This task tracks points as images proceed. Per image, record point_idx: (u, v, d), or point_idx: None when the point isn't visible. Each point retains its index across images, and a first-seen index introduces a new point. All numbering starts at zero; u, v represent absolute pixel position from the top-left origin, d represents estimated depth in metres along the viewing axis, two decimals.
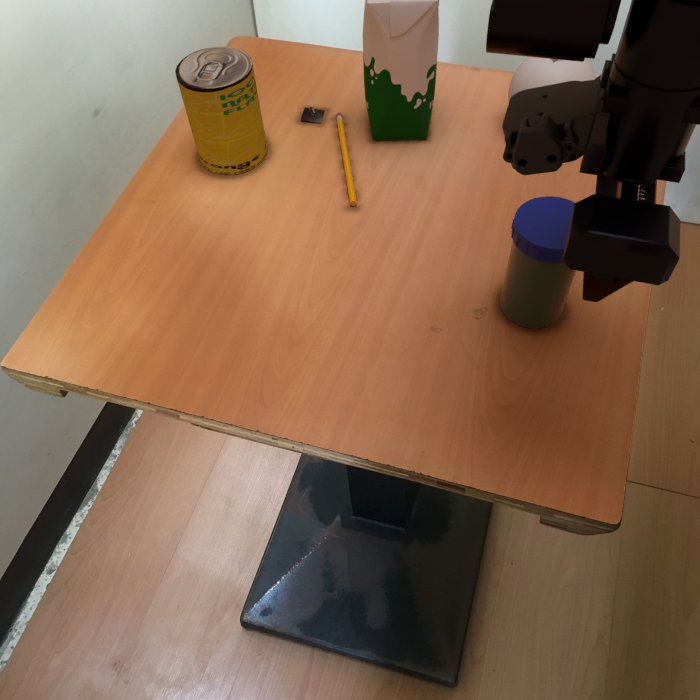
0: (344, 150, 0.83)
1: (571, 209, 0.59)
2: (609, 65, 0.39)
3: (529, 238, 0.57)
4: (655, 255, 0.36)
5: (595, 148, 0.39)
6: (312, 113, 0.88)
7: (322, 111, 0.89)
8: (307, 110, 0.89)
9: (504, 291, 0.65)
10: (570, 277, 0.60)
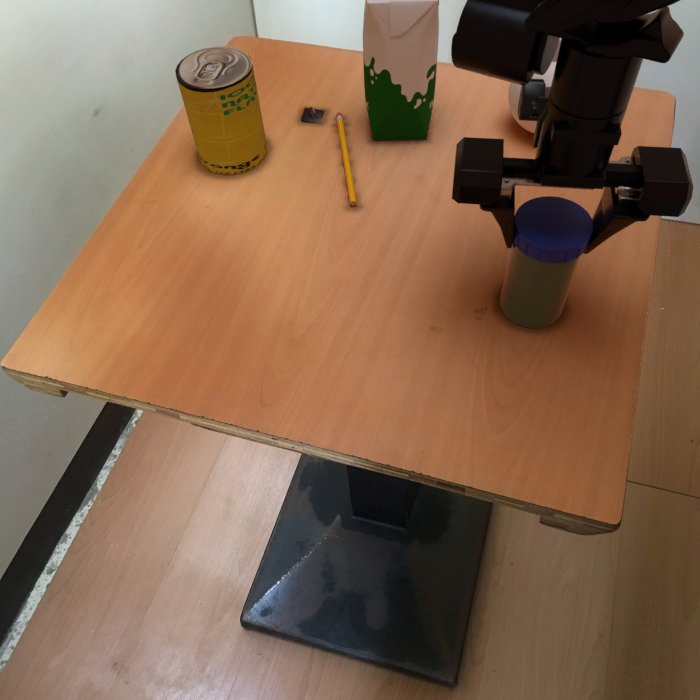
0: (344, 150, 0.83)
1: (571, 209, 0.59)
2: None
3: (529, 238, 0.57)
4: (455, 170, 0.53)
5: (537, 122, 0.53)
6: (313, 114, 0.89)
7: (322, 111, 0.89)
8: (307, 111, 0.89)
9: (504, 291, 0.65)
10: (570, 277, 0.60)
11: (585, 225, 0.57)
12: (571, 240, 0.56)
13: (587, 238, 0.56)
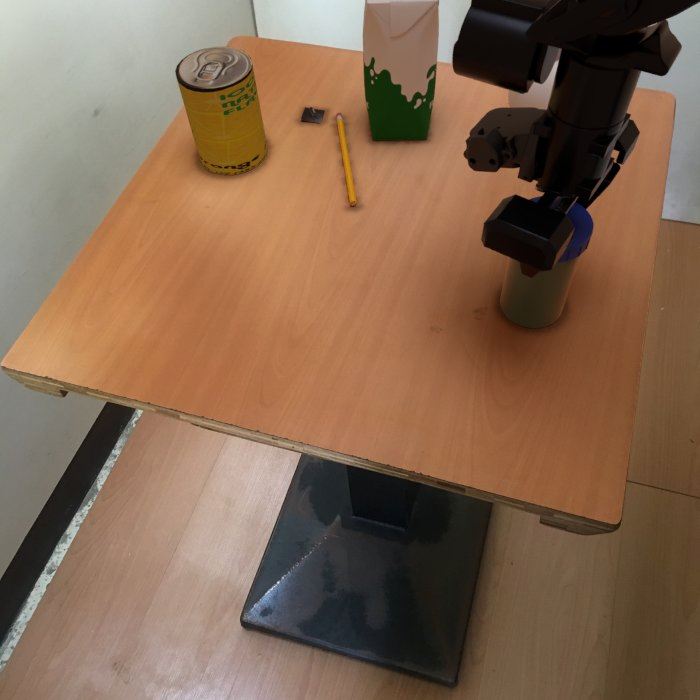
0: (344, 150, 0.83)
1: None
2: None
3: None
4: (538, 246, 0.49)
5: (527, 160, 0.51)
6: (313, 114, 0.89)
7: (322, 111, 0.89)
8: (307, 110, 0.89)
9: (504, 291, 0.65)
10: (570, 277, 0.60)
11: None
12: (584, 220, 0.58)
13: (585, 210, 0.58)
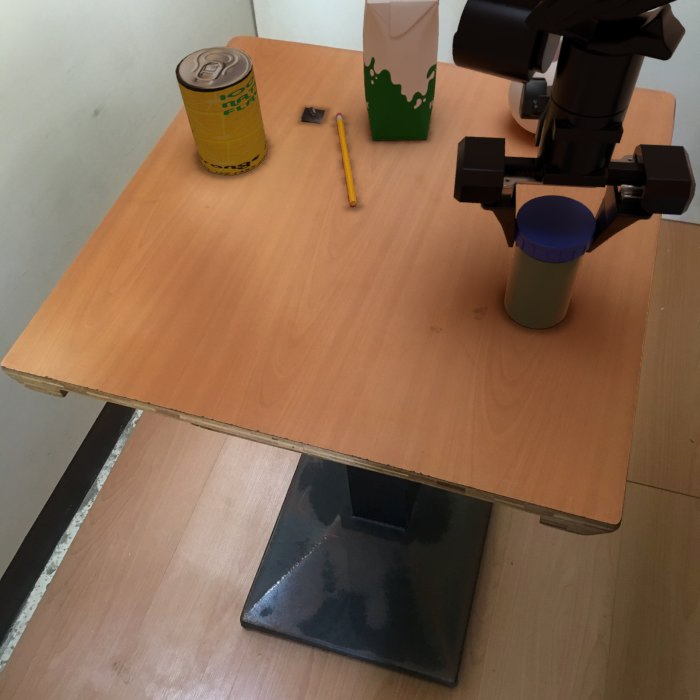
0: (344, 150, 0.83)
1: (528, 217, 0.58)
2: None
3: (593, 224, 0.57)
4: (457, 170, 0.53)
5: (539, 121, 0.53)
6: (313, 114, 0.89)
7: (322, 111, 0.89)
8: (307, 110, 0.89)
9: (508, 293, 0.65)
10: (574, 276, 0.60)
11: (538, 202, 0.59)
12: (565, 202, 0.59)
13: (551, 195, 0.60)
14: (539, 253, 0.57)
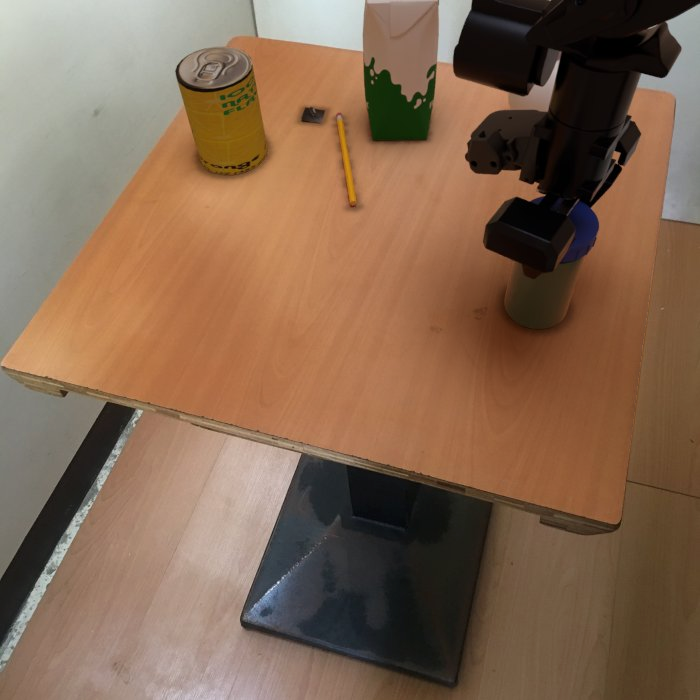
0: (344, 150, 0.83)
1: None
2: None
3: None
4: (539, 248, 0.49)
5: (528, 162, 0.52)
6: (313, 114, 0.89)
7: (322, 111, 0.89)
8: (308, 110, 0.89)
9: (509, 293, 0.65)
10: (575, 277, 0.60)
11: None
12: (538, 204, 0.59)
13: None
14: (583, 251, 0.57)
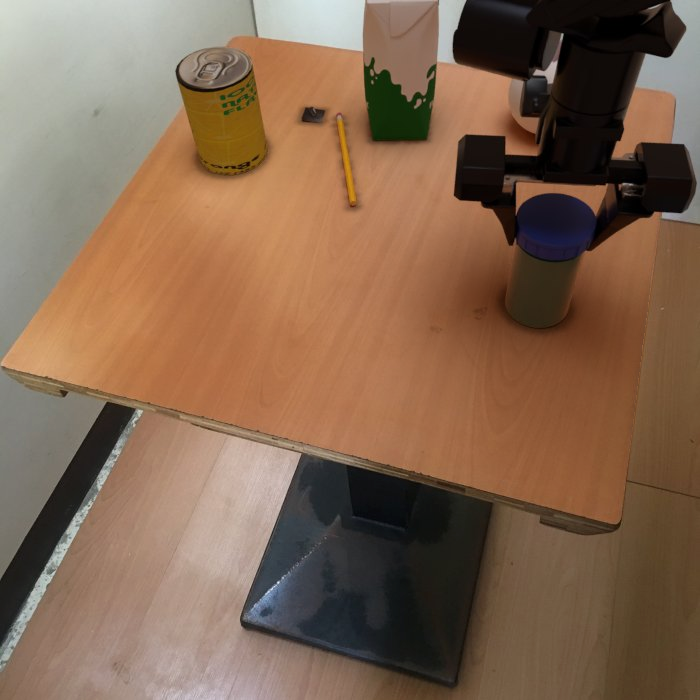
0: (344, 150, 0.83)
1: (571, 235, 0.56)
2: None
3: (536, 197, 0.59)
4: (457, 168, 0.53)
5: (539, 119, 0.53)
6: (313, 113, 0.89)
7: (323, 111, 0.89)
8: (308, 110, 0.89)
9: (509, 294, 0.65)
10: (576, 274, 0.60)
11: (545, 238, 0.56)
12: (526, 222, 0.57)
13: (526, 234, 0.57)
14: None
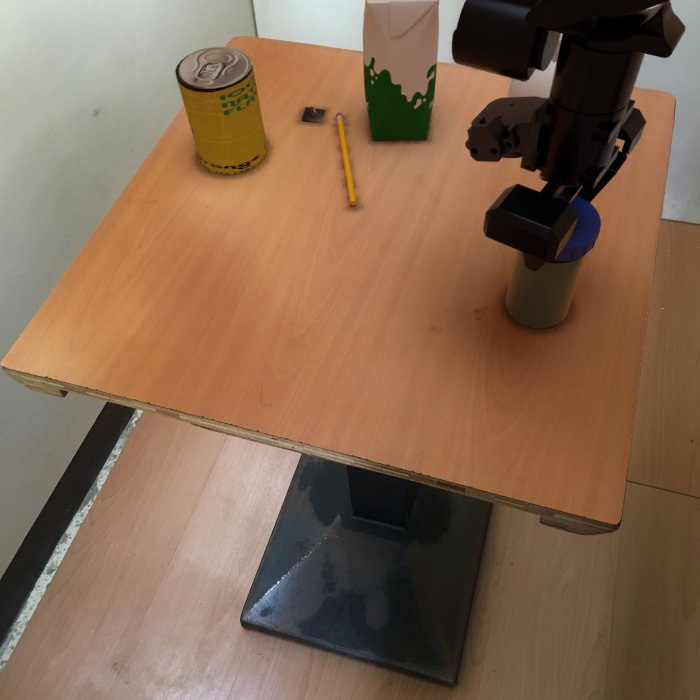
0: (344, 150, 0.83)
1: None
2: None
3: None
4: (540, 235, 0.48)
5: (529, 149, 0.51)
6: (313, 113, 0.89)
7: (323, 111, 0.89)
8: (308, 110, 0.89)
9: (511, 296, 0.64)
10: (579, 274, 0.60)
11: (590, 214, 0.57)
12: (586, 233, 0.56)
13: (599, 226, 0.56)
14: None
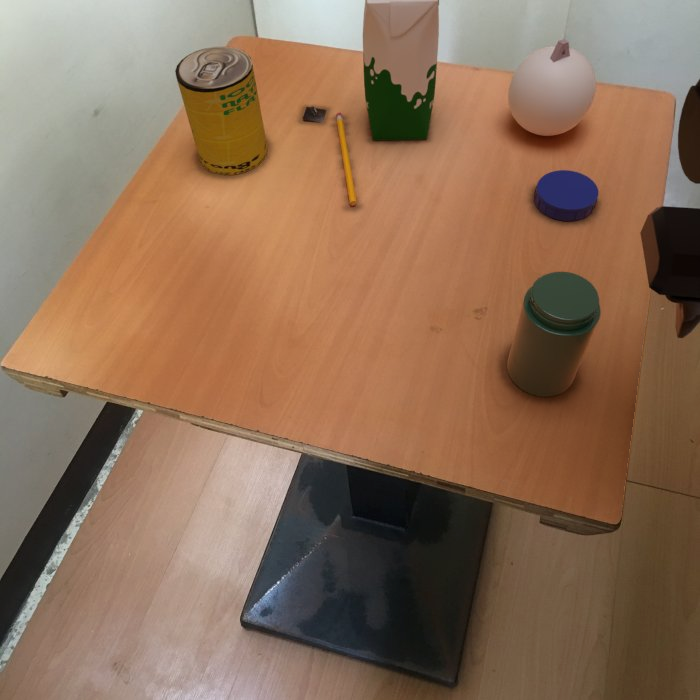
0: (344, 150, 0.83)
1: (588, 189, 0.75)
2: None
3: (539, 189, 0.75)
4: (660, 254, 0.40)
5: None
6: (314, 113, 0.89)
7: (324, 111, 0.89)
8: (309, 110, 0.89)
9: (514, 362, 0.60)
10: (588, 343, 0.56)
11: (585, 201, 0.73)
12: (564, 204, 0.73)
13: (576, 208, 0.73)
14: None
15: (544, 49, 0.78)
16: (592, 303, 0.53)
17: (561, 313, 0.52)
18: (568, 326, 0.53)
